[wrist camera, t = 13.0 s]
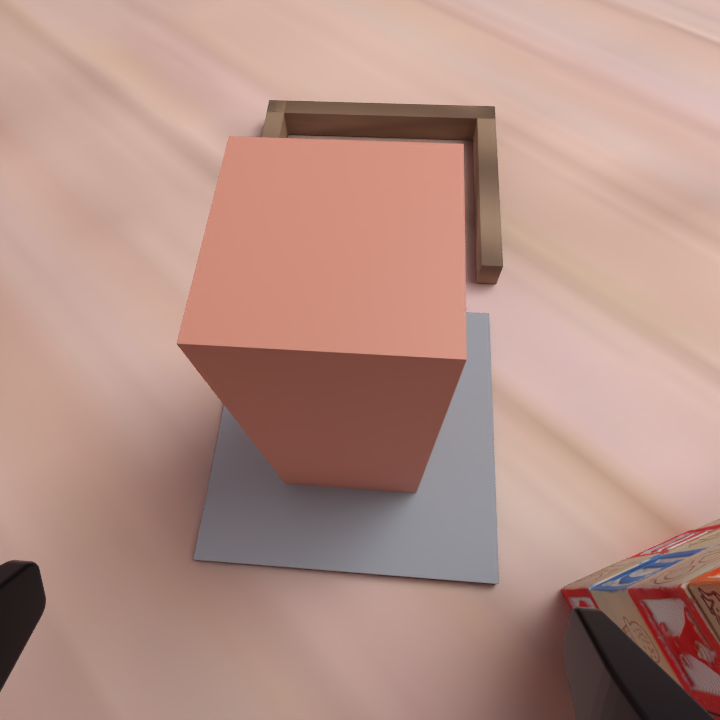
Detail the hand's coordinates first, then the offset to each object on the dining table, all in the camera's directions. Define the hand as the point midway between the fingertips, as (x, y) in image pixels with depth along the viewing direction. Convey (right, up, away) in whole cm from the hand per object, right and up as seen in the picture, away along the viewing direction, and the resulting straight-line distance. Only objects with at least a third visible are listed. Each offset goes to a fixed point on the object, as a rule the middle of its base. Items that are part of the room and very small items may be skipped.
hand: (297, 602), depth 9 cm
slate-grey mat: (+1, +1, +14) cm, 14 cm away
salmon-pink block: (+1, +1, +14) cm, 14 cm away
